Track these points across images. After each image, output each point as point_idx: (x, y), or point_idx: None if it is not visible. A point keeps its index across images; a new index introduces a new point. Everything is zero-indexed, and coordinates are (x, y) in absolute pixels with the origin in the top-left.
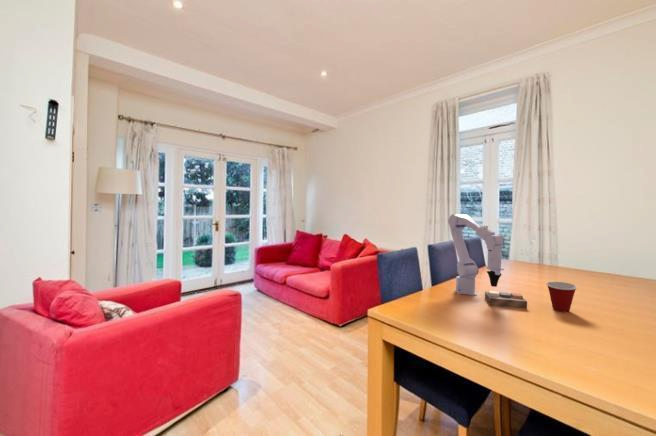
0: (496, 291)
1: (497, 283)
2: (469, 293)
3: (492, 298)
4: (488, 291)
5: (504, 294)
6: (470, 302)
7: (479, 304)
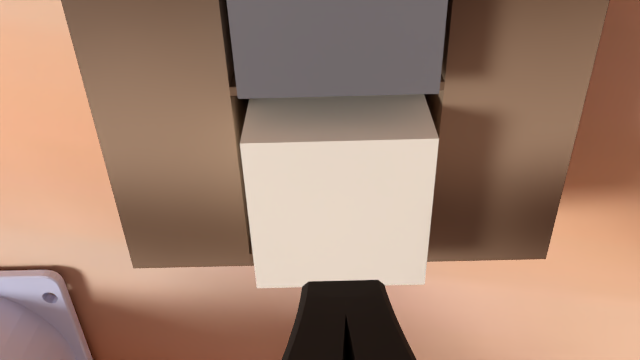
0: (265, 163)
1: (407, 343)
2: (69, 348)
3: (549, 228)
4: (279, 278)
5: (412, 23)
6: (425, 353)
7: (483, 285)
